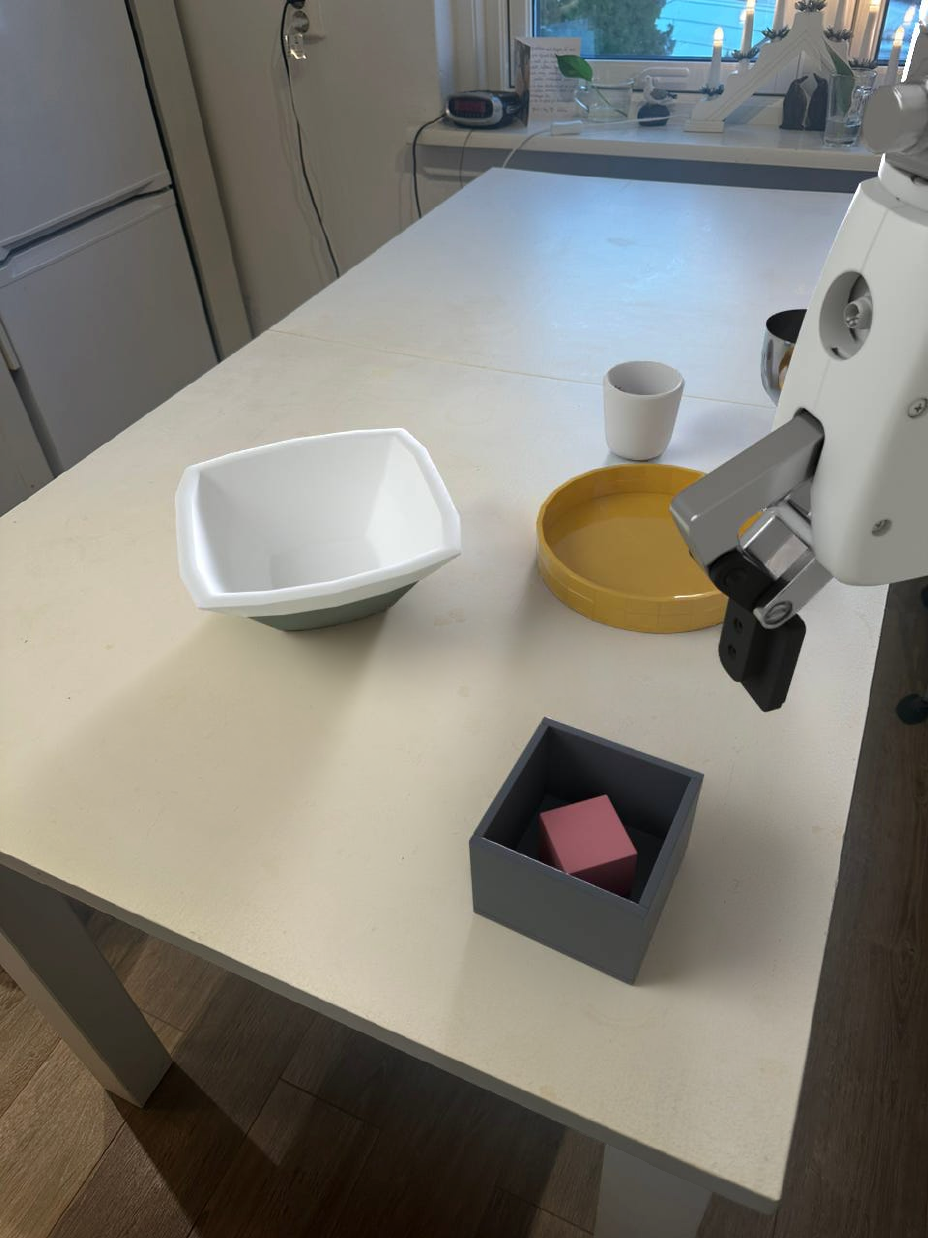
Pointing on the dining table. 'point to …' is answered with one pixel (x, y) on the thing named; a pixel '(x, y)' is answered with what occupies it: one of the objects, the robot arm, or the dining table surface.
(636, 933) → the grey bin
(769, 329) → the wine glass
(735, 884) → the dining table surface
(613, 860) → the block
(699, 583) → the yellow bowl
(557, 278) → the dining table surface
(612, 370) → the cup
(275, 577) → the bowl
